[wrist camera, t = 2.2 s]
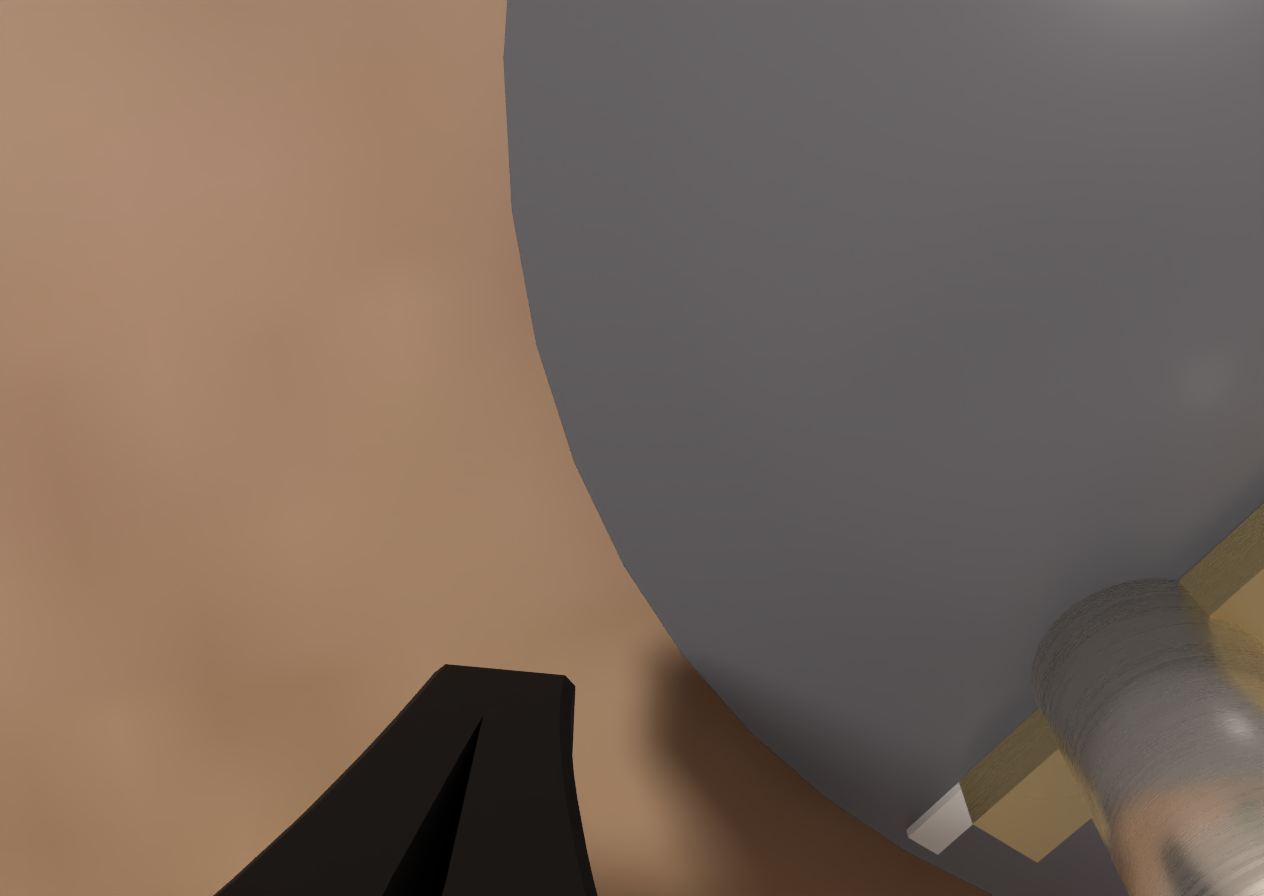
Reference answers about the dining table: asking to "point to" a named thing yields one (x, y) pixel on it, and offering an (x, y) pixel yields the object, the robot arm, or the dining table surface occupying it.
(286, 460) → the dining table surface
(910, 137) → the tuner dial
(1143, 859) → the brass vanity light
